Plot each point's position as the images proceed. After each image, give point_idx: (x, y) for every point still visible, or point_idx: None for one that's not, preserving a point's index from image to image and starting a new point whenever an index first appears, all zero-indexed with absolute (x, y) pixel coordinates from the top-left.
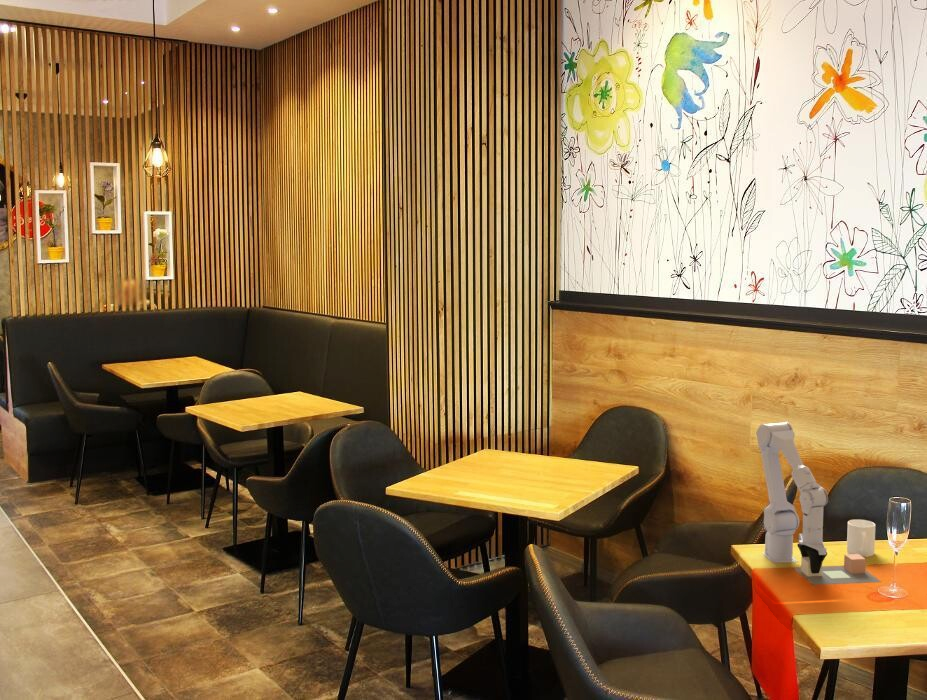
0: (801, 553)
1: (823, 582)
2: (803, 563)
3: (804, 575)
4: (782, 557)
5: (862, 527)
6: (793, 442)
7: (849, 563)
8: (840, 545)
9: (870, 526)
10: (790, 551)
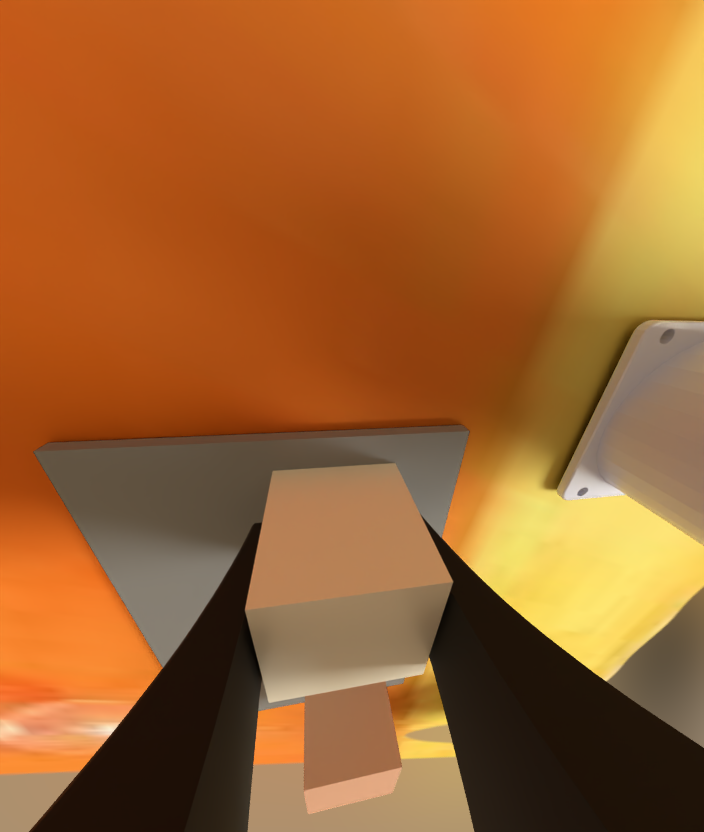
0: (510, 626)
1: (129, 534)
2: (374, 533)
3: (296, 456)
4: (658, 420)
5: None
6: None
7: (328, 728)
8: (602, 656)
9: None
10: (684, 516)
